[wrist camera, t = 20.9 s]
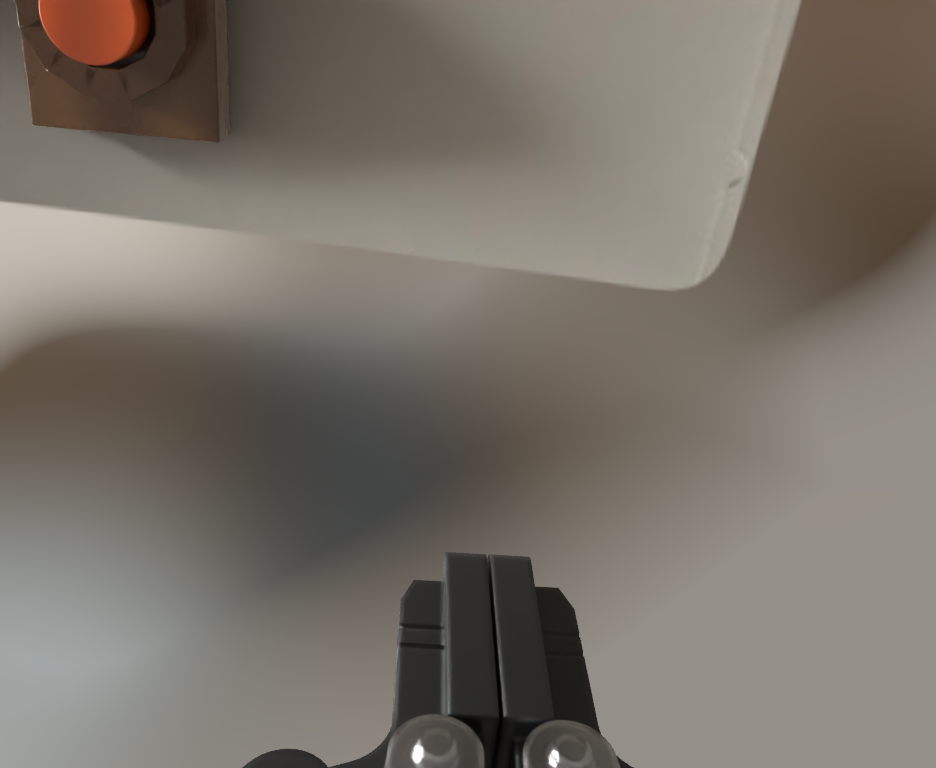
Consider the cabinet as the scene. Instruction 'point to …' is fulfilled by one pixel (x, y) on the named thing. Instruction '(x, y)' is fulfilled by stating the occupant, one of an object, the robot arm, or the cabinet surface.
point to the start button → (96, 28)
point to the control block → (137, 76)
